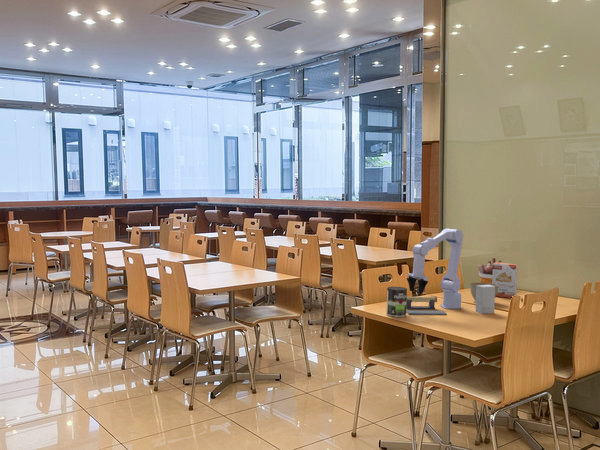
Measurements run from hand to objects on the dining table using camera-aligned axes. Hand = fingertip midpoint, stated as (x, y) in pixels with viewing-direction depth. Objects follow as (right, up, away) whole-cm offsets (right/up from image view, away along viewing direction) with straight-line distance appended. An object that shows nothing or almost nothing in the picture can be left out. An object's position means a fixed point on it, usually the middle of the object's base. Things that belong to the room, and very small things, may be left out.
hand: (416, 292), depth 303 cm
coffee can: (-12, -11, -8) cm, 18 cm away
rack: (+4, -10, +9) cm, 14 cm away
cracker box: (+65, -9, +51) cm, 84 cm away
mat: (+5, -11, -3) cm, 12 cm away
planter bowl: (+46, -10, +30) cm, 56 cm away
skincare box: (+37, -12, +3) cm, 39 cm away
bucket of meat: (+67, -7, +82) cm, 106 cm away
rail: (+4, -6, +9) cm, 12 cm away
